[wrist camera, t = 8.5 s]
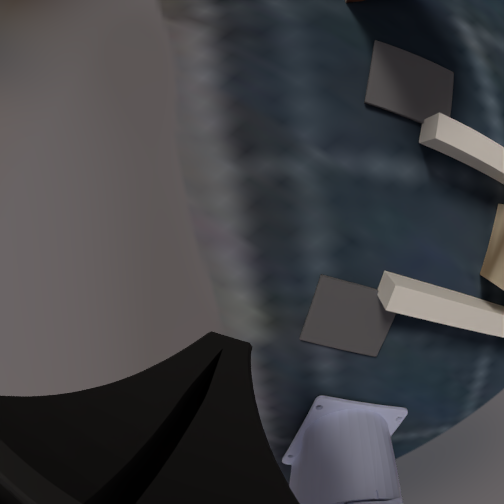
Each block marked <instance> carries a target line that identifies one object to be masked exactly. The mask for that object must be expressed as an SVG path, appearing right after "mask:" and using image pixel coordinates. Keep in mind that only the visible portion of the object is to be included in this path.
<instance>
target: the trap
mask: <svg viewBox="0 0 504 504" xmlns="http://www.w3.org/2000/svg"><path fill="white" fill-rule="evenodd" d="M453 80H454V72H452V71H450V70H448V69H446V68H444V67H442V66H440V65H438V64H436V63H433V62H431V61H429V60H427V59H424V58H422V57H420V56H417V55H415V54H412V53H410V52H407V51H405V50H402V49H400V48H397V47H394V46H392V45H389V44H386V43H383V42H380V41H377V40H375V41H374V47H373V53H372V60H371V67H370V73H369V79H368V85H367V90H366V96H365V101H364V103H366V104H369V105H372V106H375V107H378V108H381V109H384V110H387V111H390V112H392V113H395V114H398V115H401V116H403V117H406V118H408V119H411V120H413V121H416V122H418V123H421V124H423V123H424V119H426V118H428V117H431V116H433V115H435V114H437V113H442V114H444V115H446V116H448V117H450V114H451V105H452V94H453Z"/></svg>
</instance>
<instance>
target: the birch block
mask: <svg viewBox="0 0 504 504" xmlns="http://www.w3.org/2000/svg"><path fill="white" fill-rule="evenodd" d="M480 275H481V276H483V277H485V278H486V279H488V280H489V281H490V282H492V283H493V284H495V285H496V286H498V287H499V288H501V289H502V290H504V204H499V203H498V207H497V212H496V217H495V221H494V226H493V230H492V234H491V238H490V242H489V246H488V249H487V253H486V256H485V259H484V263H483V266H482V269H481V272H480Z"/></svg>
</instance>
